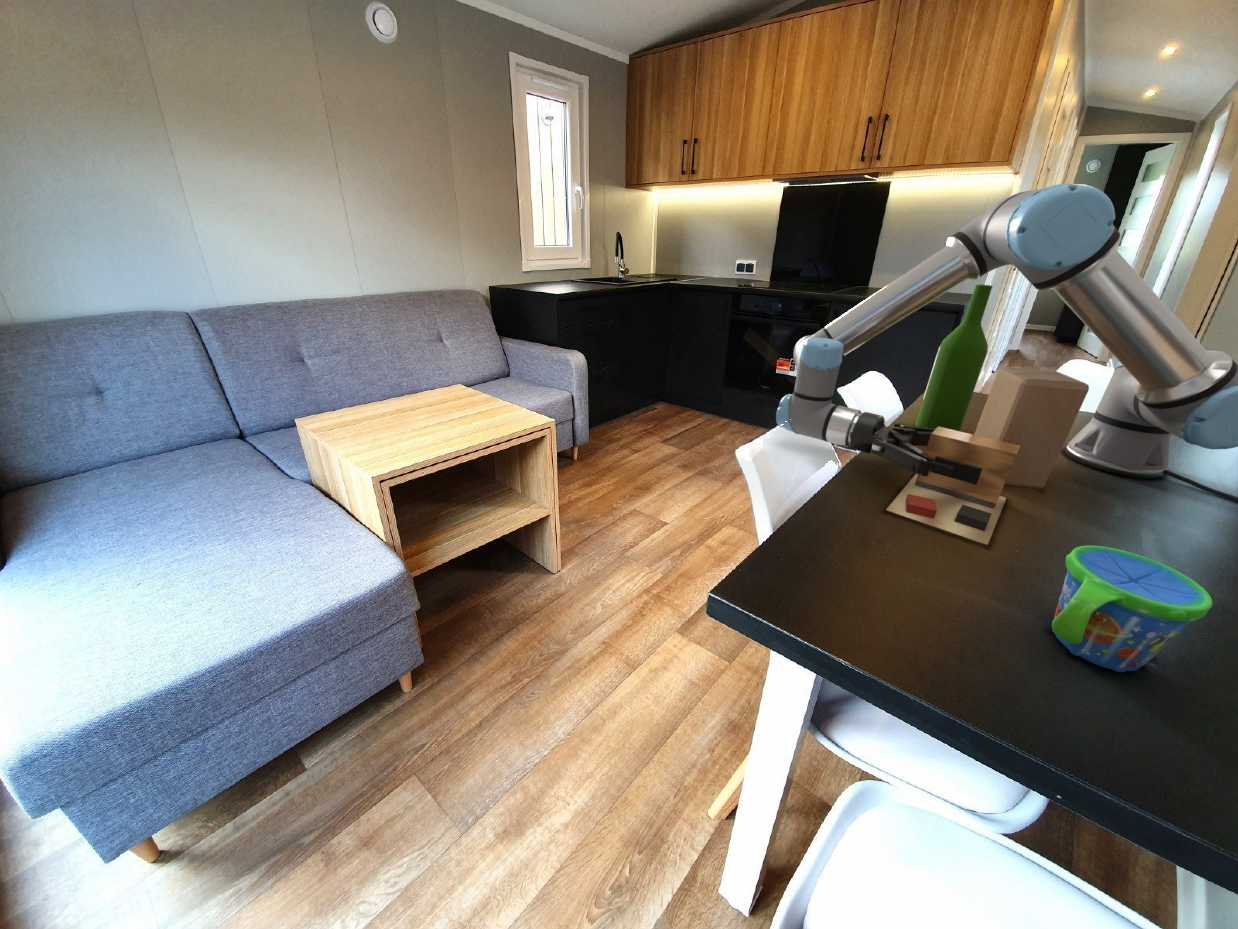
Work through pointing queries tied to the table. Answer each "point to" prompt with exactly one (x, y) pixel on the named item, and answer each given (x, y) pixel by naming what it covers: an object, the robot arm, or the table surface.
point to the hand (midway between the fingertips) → (986, 463)
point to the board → (947, 512)
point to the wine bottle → (956, 368)
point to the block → (1031, 419)
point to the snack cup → (1123, 607)
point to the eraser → (973, 452)
